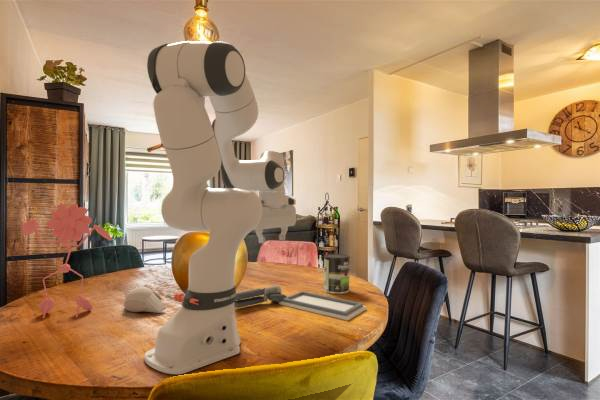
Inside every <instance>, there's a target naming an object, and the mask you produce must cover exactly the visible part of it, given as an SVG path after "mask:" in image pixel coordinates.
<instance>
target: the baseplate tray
mask: <svg viewBox="0 0 600 400" xmlns="http://www.w3.org/2000/svg"><path fill="white" fill-rule="evenodd" d="M286 296H287V297H286V298H283V299H282V301H281V302H278V305H281V306H284V307H285V306H286V307H290V308H292V309H293V308H294V309H297V310H298V309H299V310H302V311H304V312H305V311H306V312H309V313H314V314H318V315H322V316H327V317H331V318H336V319H340V320H344V321H348V322H349V320H351V319H353V318H354V317H356V316H358V315H359V314H361V313H363V312H364V311H366V310H367V306H366V305H364V304H363V302H358V301H355V300H349V299H345V298H338V297H334V296H328V295H323V294H319V293H314V292H309V291H303V290H300V291H298V292H296V293H293V294H290V295H286Z"/></svg>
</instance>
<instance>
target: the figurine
mask: <svg viewBox="0 0 600 400" xmlns="http://www.w3.org/2000/svg"><path fill="white" fill-rule="evenodd" d="M87 212H88V209H87V207H85V206H83V207H82V206H80V207H79V205H78V204H77V203H72V204H71V205H69V206H68V207H67V206H66V205H65V204H64V203H60V204H58V206H57V210H53V211H51V218H52V219H51V220H47V222H46V226H47V227H48V228H49V229H50V230H51V229H52V233H51V235H52V236H53V237H55V238H57V237H58V238H60V239H58V240H50V241H48V240H47V241H41V240H40V237H39V232H38V228H39V221H38V220H37V219H36V218H32V219H29V220H27V221H26V222H24V223H23V224H22V226H21V232H22V234H23V236H25V237H26V236H29V235H31V234H33V233H35V235H36V241H37V244H38V245H43V244H45V245H46V244H53V243H59V244H62V245H64V246H66V247H68V248H69V250H68V254H67V256H66V260H65V263H63V264H61V265H60V267H59V270H57V271H55V272H53V273H50V274H49V275H48V276H45V277H43V278H42V283H43V284H42V285H43V289H44V293H45V298H44V299H42V301H41V302H40V304H39V306H38V307H39V311H40V312H42V318H43V319H45V317H46V314H48V313H50V312H51V311H52V310H53V309H54V307H55V300H54V298H51V297H48V293H47V288H46V283H45V279H48V278H49V277H51V276H53V275H55V274H57V273H59V272H61V273H63V274H65V273H69V272H70V271H71V272H73V273H74V274H76V275H77V276H79V277H81V282H80V283H81V285H80V296H79V297H78V296H77V297H76V298H75V303H76V304H77V309H76V314H75V318H78V317H79V313H80V308H81V309H83V310H86V311H89V312H90V311H92V310H93V305H92V303H91V302H90V301H89V300H88V299H86V298H85V297H83V283H84V276H83V275H82V274H80V273H78V272H77V271H75V270H74V269H72V268H71V265H70V264H68V261H69V258H70V256H71V252H72V250H73V248H72V246H73V247H77V248H80V246H82V244H83V243H84V242H85V241H86V240H87V238H88V237H89V236H90V235H91V233H92V232H94V230H95V231H96V232H97V233H98V234H99V235H100V236H102V237H103V238H105V239H106V240H108V241H110V242H112V237H111V235H110V234H109V232H108V231H107V230H105V229H104V228H102V227H101V226H99V225H97V224H94V225H93V227H92V228H91V229H90V227H89V224H92V222H93V219H92V218H91V217H90V216H89V215H86V213H87ZM83 234H86V235H85V236H84V237H83ZM72 238H73V240H74V241H76V242H79V243H78V244H76V243H72V242H69V241H70V240H71V239H72Z"/></svg>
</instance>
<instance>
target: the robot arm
mask: <svg viewBox="0 0 600 400" xmlns="http://www.w3.org/2000/svg"><path fill="white" fill-rule="evenodd" d="M146 68H147V73H148V78H149V82H150V83H151V86H152V88H153V90H154V92H155V93H156V95H155V96H154V99H153V102H152V104H153V112H154V118H155V121H156V122H155V123H156V127H157V131H158V133H159V138H160V141H161V143H162V145H163V148H164V151H165V154H166V157H167V160H168V163H169V166H170V169H171V173H172V187H171V189H170V191H169V192H168V193H167V194H166V195H165V197H164V199H163V200H162V204H161V216H162V219H163V221H164V222H165V224H166V225H167V227H170V228H172V229H176V230H178V231H184V232H202V233H203V232H205V233H207V232H208V233H209V237H208V241H207V243H206V245H203V246H202V247H200V248H198V249H197V250H195V251H194V252H193V253H192V254H191V255H190V258H189V260H188V287H187V289H186V291H185V293H180V292H178V291H177V292H175V293H174V295H173V296H172V298H173V301H175V302H178V303H181V307H180V308H179V309H178V310H177V311H176V312H175V313H174V314H173V315H172V316H171V317H170V318H169V319H168V320H167V321H166V322H165V323H164V324H163V325H162V326H161V327H160V328H159V329H158V332H157V335H156V340H155V346H154V347H153V348H151V349H150V350H148V351H145V353H144V362H145V363H146V365H148V366H149V367H150V368H153V369H154V370H156V371H159V372H161V373H163V374H168V375H183V374H186V373H188V372H191V371H194V370H197V369H199V368H202V367H205V366H207V365H211V364H213V363H216V362H218V361H222V360H225V359H228V358H230V357H233V356H235V355H238V354H240V350H241V349H240V344H241V337H240V335H239V334H240V333H239V330H238V323H237V318H236V307H235V303H234V302H235V301H237V300H236V293H237V286H236V285H235V267H236V259H237V253H238V250H239V249H240V248H239V247H240V246H241V243H242V242H243V240H244V239H245V237H246V236H247V235H249V233H251V232H252V231H255V234H256V236H257V238H258V243H259V244H265V243H266V237H265V236H264V235H263V233H264V230H267V229H276V228H280V230H281V232H280V234H278V240H279V241H284V240H286V234H287V232H288V229H289V227H294V226H295V225H296V222H297V209H296V207H295V206H296V204H297V202H296V199H295V198H293V197H291V196H289V195H287V194H286V189H285V181H286V167H285V160H284V155H283V154H282V153H280V152H278V151H274V150H273V151H272V150H269V151H268V150H266V151H264V152H262V153H260V158H259V159H251V160H249V159H248V160H247V159H245V160H242V159H238V158H237V157H236V154H235V153H236V152H235V149H234V145H233V142H232V141H233V139H235V138H238V137H240V136H242V135H243V134H245V133H247V132H249V130H251V128H253V126H254V125H255V124H256V122H257V119H258V117H259V107H258V106H259V105H258V102H257V99H256V97H255V94H254V91H253V87H252V85H251V83H250V81H249V78H248V76H247V74H246V65H245V61H244V57H243V55H242V54H241V52H240V51H239V50H238V49H237V48H236V47H235V46H234V45H233V44H230V43H229V42H225V41H217V40H216V41H213V42H211V41H194V40H186V41H180V42H175V43H163V44H161V45H157V46H156V47H154V48H153V49H152V50H151V51H150V52H149V54H148V56H147V62H146ZM206 97H208V98H209V101H210V103H211V106H212V108H213V110H214V114H215V119H213V120H212V122H211V120H210V116H209V114H208V112H207V109H206V106H205V104H206V103H205V102H206ZM219 172H220V174H221V180H222V183H223V185H224V186H225V187H210V186H209V184H208V181H211V179H213V178H214V177H215V176H216V175H217V174H218V173H219ZM256 191H257V192H258V194H257V192H256Z"/></svg>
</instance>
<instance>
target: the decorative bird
mask: <svg viewBox="0 0 600 400" xmlns="http://www.w3.org/2000/svg"><path fill="white" fill-rule="evenodd" d="M124 297H125V298H124V304H123V306H124V308H125V310H127V311H129V312H132V313H140V312H146V313H156V314H157V313H159V314H160V313H162V312H163V311H165V310H166V309H167V306H166V305H165V304H164V302H162V297H161V295H160V294H159V293H158V292H156V291H154V290H153V289H150V288H149V287H146V286H138V287H135V288H133V289H131V290H130V291H128V293H127V294H126V293H125V295H124Z"/></svg>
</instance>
